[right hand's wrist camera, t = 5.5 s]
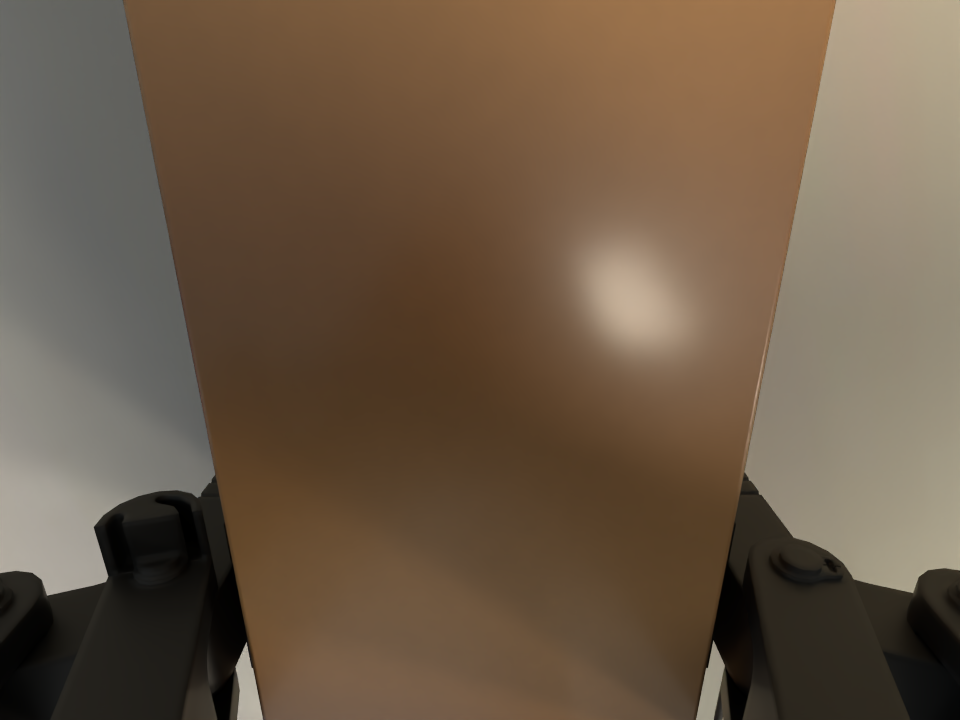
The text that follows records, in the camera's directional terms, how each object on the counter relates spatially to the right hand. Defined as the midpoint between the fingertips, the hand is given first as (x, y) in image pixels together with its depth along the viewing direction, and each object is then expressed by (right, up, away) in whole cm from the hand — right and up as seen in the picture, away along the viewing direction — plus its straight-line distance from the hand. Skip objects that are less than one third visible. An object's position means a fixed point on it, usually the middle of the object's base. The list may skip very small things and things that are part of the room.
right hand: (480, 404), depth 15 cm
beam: (0, +18, -6) cm, 19 cm away
